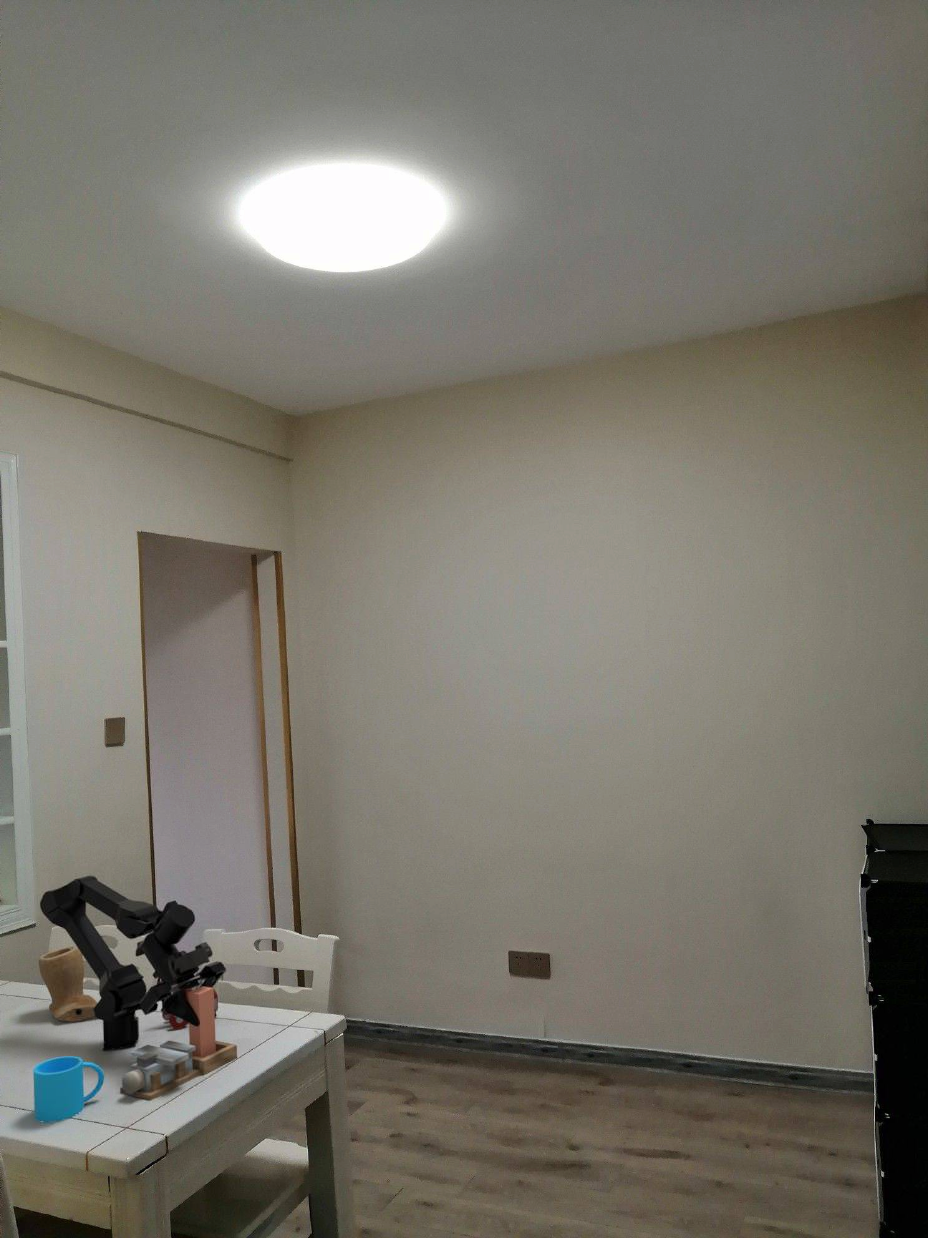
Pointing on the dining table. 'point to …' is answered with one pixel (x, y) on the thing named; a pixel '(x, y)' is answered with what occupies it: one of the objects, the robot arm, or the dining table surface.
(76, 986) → the tan hollow boot shape
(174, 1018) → the toy fire truck
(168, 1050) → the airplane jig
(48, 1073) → the mug
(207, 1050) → the salmon pink box
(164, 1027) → the dining table surface
